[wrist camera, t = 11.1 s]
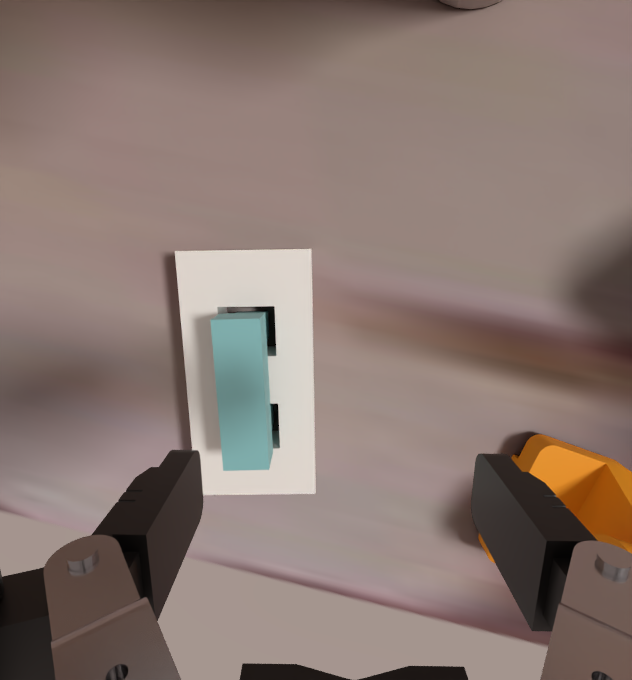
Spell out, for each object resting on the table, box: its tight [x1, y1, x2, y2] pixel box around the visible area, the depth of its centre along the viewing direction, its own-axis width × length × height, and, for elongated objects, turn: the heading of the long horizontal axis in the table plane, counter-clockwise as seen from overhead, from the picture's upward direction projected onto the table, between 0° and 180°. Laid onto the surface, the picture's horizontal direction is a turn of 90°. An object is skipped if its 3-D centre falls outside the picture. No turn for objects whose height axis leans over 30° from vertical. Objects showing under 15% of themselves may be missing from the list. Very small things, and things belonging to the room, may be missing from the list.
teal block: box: [210, 311, 274, 471], centre depth 29 cm, size 10×3×6 cm, turn 2°
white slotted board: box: [175, 249, 316, 495], centre depth 31 cm, size 18×9×3 cm, turn 1°
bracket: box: [479, 434, 632, 563], centre depth 29 cm, size 11×7×12 cm, turn 160°
